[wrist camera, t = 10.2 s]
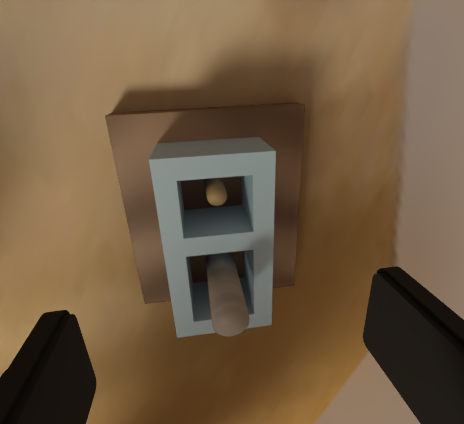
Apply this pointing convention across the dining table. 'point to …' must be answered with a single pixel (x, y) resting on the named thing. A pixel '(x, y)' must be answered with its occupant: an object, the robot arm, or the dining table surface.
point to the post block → (208, 196)
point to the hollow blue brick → (216, 224)
